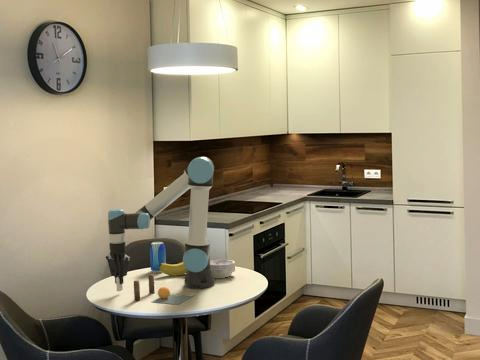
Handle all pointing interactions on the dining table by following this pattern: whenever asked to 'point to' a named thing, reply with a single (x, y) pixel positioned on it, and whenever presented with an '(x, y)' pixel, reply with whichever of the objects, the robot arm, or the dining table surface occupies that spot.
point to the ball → (163, 292)
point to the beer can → (157, 256)
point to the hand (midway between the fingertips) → (119, 290)
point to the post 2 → (151, 283)
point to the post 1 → (136, 291)
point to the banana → (173, 269)
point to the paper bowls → (222, 268)
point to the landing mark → (173, 299)
